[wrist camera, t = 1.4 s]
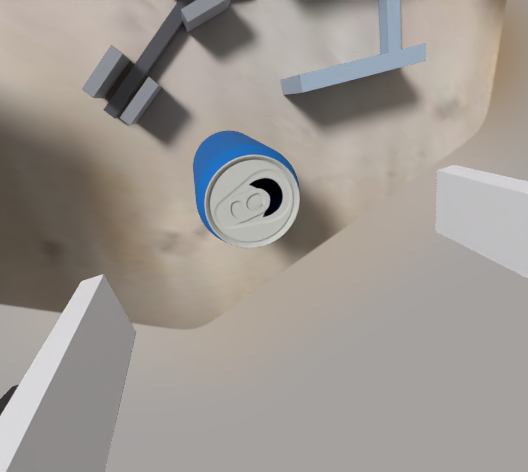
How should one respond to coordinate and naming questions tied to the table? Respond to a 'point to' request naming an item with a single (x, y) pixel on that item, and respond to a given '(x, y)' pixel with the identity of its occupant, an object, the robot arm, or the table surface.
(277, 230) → the beverage can
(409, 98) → the table surface
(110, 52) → the clip
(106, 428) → the robot arm
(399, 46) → the end holder
